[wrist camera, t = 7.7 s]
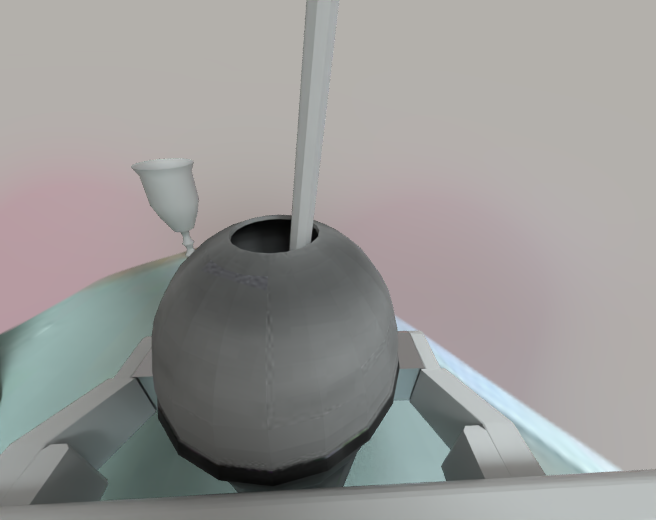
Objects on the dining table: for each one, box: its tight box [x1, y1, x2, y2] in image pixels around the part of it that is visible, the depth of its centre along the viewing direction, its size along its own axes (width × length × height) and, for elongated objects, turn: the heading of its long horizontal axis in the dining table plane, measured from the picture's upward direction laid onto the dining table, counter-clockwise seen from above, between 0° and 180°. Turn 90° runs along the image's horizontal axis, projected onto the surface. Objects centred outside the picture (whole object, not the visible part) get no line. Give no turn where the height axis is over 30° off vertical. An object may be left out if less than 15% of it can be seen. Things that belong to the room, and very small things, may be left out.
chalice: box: [131, 158, 199, 257], centre depth 37 cm, size 7×7×18 cm
